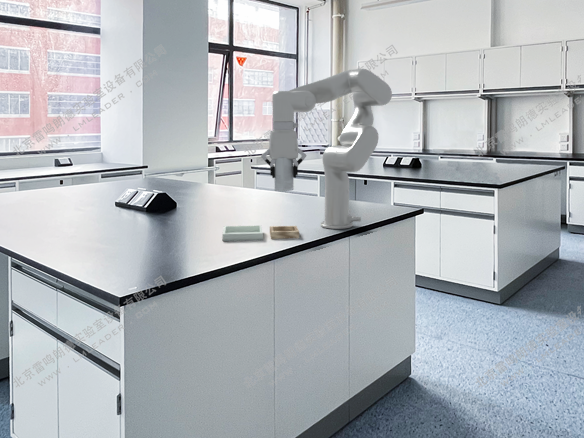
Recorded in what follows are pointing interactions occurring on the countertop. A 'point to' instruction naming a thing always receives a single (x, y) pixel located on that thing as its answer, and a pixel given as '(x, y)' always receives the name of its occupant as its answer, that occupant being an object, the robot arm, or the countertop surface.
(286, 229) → the wooden square frame
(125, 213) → the countertop surface
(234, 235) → the tray
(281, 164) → the skincare box
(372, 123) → the robot arm
